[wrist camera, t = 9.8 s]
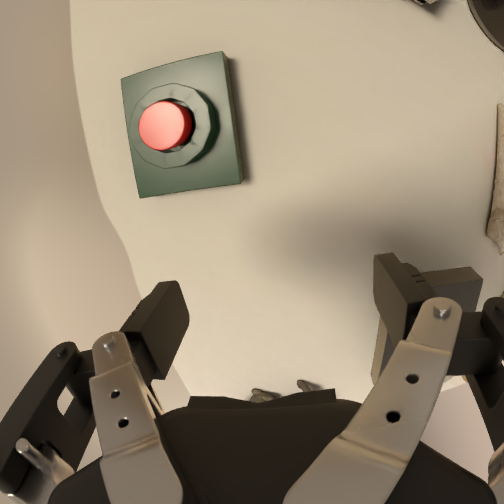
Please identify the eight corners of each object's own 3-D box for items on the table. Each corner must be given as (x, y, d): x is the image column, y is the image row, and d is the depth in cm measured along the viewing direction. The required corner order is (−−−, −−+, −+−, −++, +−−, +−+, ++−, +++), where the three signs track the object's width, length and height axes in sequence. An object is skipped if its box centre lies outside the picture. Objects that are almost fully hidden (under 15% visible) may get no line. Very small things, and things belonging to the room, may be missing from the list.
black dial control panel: (384, 276, 27) (393, 293, 24) (470, 266, 25) (484, 279, 22) (370, 373, 32) (375, 392, 29) (444, 359, 31) (452, 375, 28)
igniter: (132, 81, 22) (109, 76, 18) (227, 57, 20) (217, 44, 17) (149, 193, 26) (130, 204, 22) (244, 179, 25) (237, 188, 21)
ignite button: (145, 108, 19) (135, 108, 18) (189, 97, 19) (181, 95, 17) (152, 152, 21) (142, 155, 19) (195, 143, 20) (188, 145, 19)
